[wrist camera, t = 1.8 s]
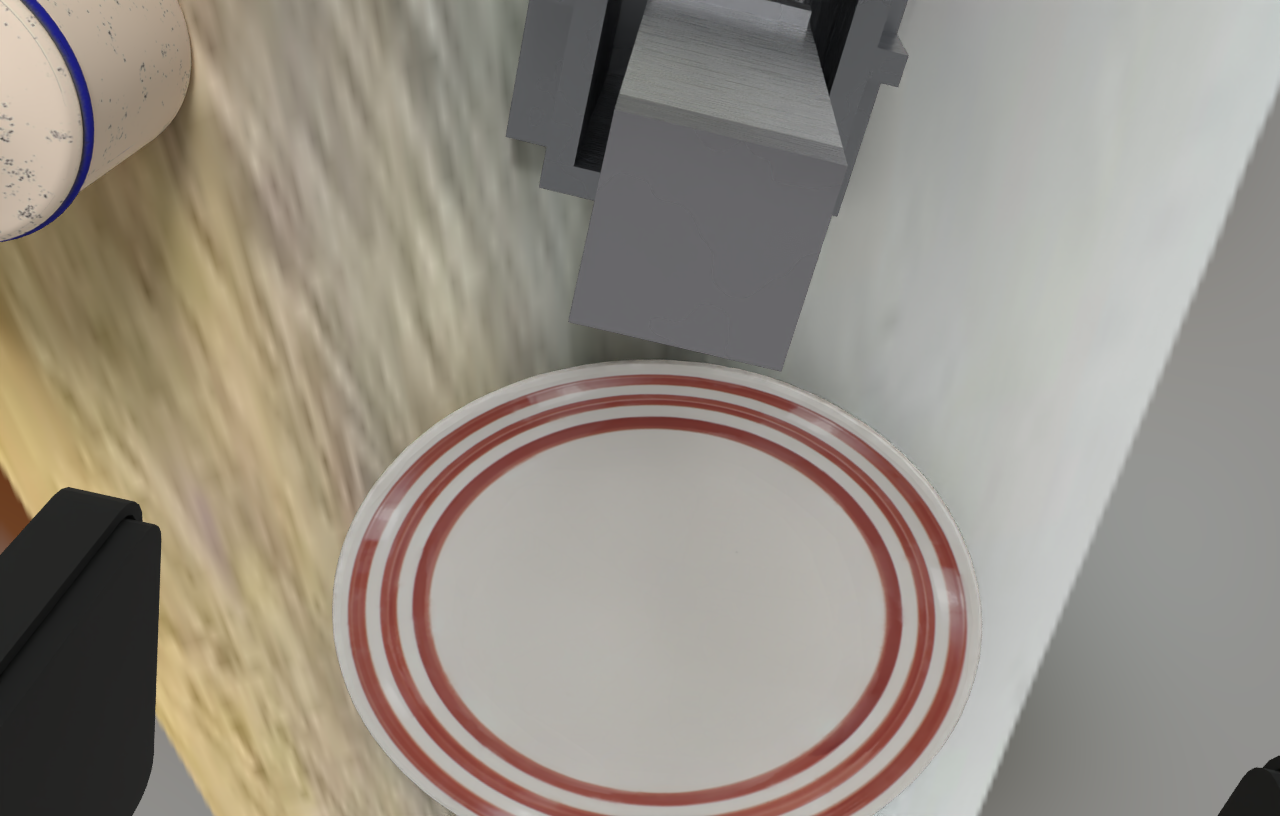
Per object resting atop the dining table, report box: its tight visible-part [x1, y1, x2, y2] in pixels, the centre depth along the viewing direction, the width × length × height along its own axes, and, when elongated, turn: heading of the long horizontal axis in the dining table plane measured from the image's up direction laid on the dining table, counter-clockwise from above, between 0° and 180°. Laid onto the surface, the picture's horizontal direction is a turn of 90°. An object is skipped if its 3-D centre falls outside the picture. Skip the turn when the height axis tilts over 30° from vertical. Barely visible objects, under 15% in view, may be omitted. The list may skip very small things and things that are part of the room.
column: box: [568, 0, 848, 371], centre depth 30 cm, size 5×4×21 cm
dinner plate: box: [332, 360, 982, 816], centre depth 52 cm, size 27×27×3 cm
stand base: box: [506, 0, 909, 216], centre depth 36 cm, size 12×12×11 cm
